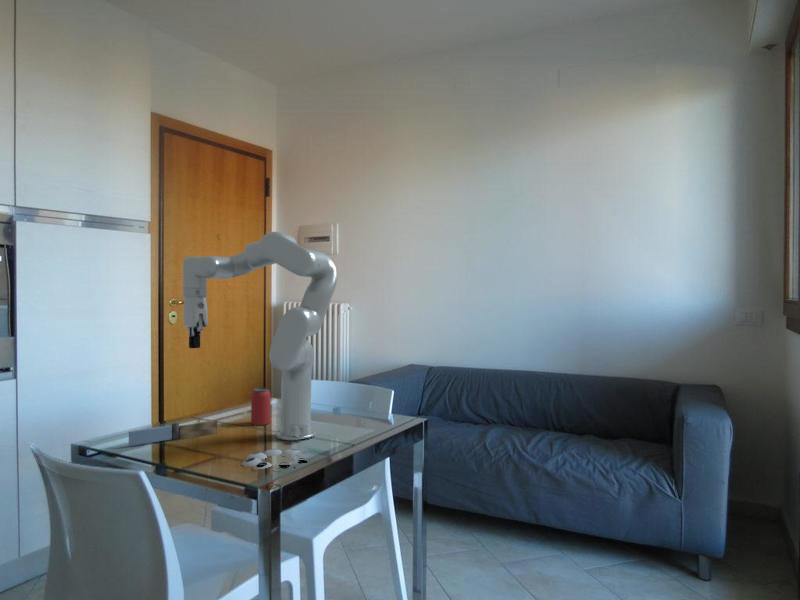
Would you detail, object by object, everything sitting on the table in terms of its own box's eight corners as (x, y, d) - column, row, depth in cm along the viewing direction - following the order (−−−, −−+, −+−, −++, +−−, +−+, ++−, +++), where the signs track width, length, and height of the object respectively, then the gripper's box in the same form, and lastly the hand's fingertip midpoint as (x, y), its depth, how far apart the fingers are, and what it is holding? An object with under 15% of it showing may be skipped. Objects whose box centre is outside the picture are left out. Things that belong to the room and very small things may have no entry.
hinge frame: (214, 432, 184) (215, 417, 184) (217, 433, 182) (217, 418, 182) (170, 439, 174) (170, 423, 174) (173, 440, 173) (173, 424, 173)
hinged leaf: (170, 438, 174) (170, 425, 174) (171, 439, 173) (171, 426, 173) (128, 444, 166) (128, 431, 166) (129, 445, 165) (130, 432, 165)
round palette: (327, 457, 159) (327, 450, 159) (288, 478, 141) (288, 470, 141) (269, 449, 166) (269, 442, 166) (225, 468, 148) (225, 460, 148)
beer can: (271, 424, 195) (272, 390, 195) (252, 426, 192) (252, 391, 192) (268, 420, 201) (269, 387, 201) (250, 422, 199) (250, 388, 198)
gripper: (215, 293, 186) (214, 349, 186) (196, 293, 197) (196, 345, 197) (192, 293, 181) (192, 350, 181) (175, 293, 192) (175, 346, 192)
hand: (194, 347), depth 189 cm, fingers closed
